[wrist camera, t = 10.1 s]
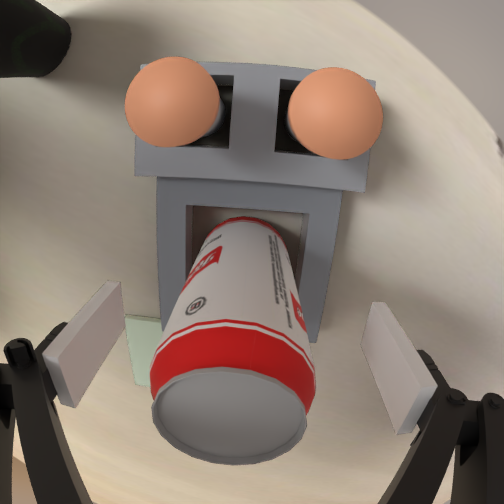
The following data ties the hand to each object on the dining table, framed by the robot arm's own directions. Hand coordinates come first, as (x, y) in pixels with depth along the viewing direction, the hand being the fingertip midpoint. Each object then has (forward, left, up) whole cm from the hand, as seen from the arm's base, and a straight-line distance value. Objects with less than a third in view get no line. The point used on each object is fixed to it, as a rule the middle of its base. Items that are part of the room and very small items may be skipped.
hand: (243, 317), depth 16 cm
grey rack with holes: (0, +4, -9) cm, 10 cm away
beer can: (0, 0, -9) cm, 9 cm away
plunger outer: (+3, +10, -8) cm, 13 cm away
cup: (-18, +17, -9) cm, 27 cm away
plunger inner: (-4, +10, -8) cm, 13 cm away
